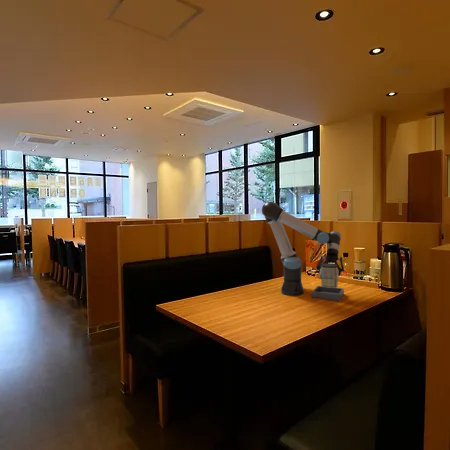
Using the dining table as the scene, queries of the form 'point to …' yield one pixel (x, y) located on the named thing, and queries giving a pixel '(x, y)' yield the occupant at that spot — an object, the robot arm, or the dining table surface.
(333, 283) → the coffee can
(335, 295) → the tray
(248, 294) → the dining table surface
